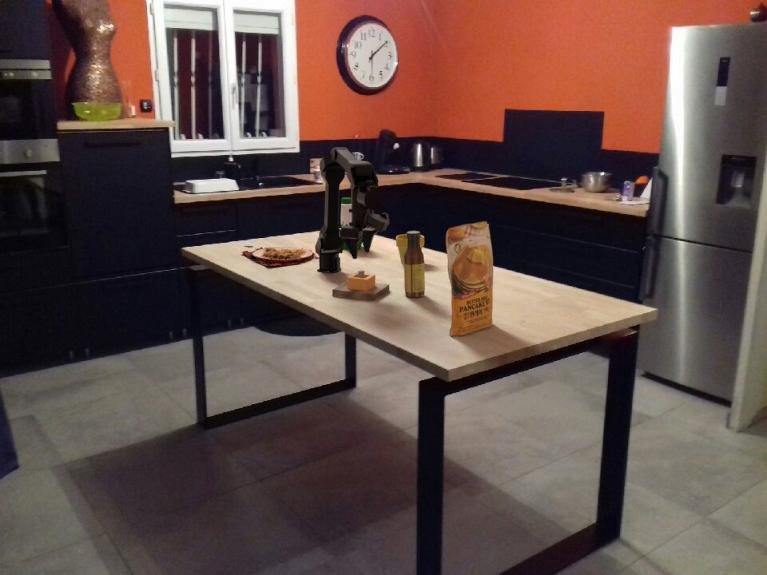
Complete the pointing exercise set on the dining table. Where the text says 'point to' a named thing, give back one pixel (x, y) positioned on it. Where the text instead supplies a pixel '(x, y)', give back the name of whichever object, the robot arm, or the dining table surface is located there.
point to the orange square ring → (361, 282)
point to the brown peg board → (361, 294)
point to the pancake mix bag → (470, 277)
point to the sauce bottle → (414, 266)
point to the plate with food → (280, 255)
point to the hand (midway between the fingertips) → (361, 255)
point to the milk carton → (347, 216)
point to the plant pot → (405, 245)
